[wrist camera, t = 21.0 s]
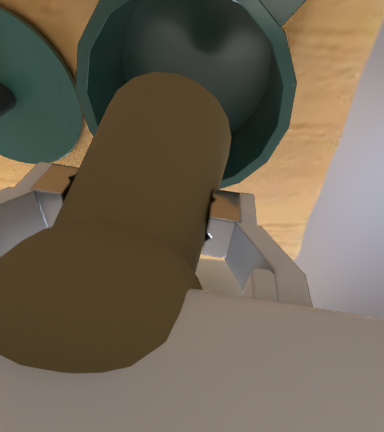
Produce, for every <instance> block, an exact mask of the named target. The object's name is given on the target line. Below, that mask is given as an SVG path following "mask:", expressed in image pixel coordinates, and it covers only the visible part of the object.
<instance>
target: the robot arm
mask: <svg viewBox="0 0 384 432" xmlns="http://www.w3.org/2000/svg"><path fill="white" fill-rule="evenodd" d="M78 170H79V168H77V167H71V166H65V165H60V164H54V163H47V162H38V163H37V164H36V165H35V166H34V167H33V168H32V169H31V170H30V171H29V172H28V174H27V175H26V176H25V177H24V178H23V179H22V180H21V181H20V182H19V183H18V184H17V185H16V186H15V187H7V188H5V189H2V190H0V257H1V256H3V255H4V254H5V253H7V252H8V251H9V250H10V249H12V248H13V247H14V246H16V245H17V244H18V243H20V242H21V241H22V240H24V239H26V238H28V237H30V236H32V235H34V234H35V233H37V232H39V231H41V230H43V229H46V228H50V227H52V226H53V224H54V222H55V220H56V217H57V215H58V213H59V211H60V209H61V207H62V204H63V202H64V200H65V198H66V196H67V194H68V191H69V189H70V187H71V185H72V183H73V181H74V178H75V176H76V174H77V172H78ZM202 254H203V255H209V256H214V257H220V258H225V261H226V262H227V264H228V266H229V268H230V269H231V271H232V273H233V275H234V276H235V278H236V280H237V281H238V284H239V285H240V287H241V289H242V291H243V292H242V295H241V296H237V295H230V294H224V293H218V292H212V291H206V290H199V289H193V288H191V289H190V290H188V292H187V293H186V297H185V300H184V303H183V306H182V309H181V312H180V314H179V316H178V318H177V320H176V322H175V324H174V326H173V328H172V330H171V332H170V334H169V337H168V339H167V341H166V342H165V343H164V344H162V345H161V346H160V347H158V348H157V349H155V350H154V351H152V352H151V353H150V354H148V355H147V356H145V357H144V358H142V359H141V360H139V361H138V362H137V363H135V364H134V365H132V366H131V367H126V368H122V369H117V370H112V371H108V372H103V373H63V372H56V371H50V370H45V369H39V368H33V367H28V366H23V365H19V364H17V363H15V362H13V361H11V360H9V359H7V358H5V357H3V356H1V355H0V432H384V319H382V318H376V317H370V316H363V315H357V314H351V313H344V312H338V311H332V310H325V309H319V308H313V306H312V301H311V297H310V292H309V288H308V284H307V279H306V275H305V274H304V273H303V272H302V270H301V269H300V268H299V267H298V266H297V265H296V264H295V263H294V262H293V261H292V259H291V258H290V257H289V256H288V255H287V254H286V253H285V252H284V251H283V250H282V248H281V247H280V246H279V245H278V244H277V243H276V242H275V241H274V240H273V239H272V237H271V236H270V235H269V234H268V233H267V232H266V231H265V230H264V229H263V228H262V227H261V226H258V225H257V220H256V209H255V198H254V195H253V194H248V193H240V192H239V193H236V192H230V191H223V190H216V189H212V194H211V205H210V209H209V217H208V223H207V230H206V236H205V240H204V244H203V249H202Z"/></svg>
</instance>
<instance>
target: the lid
mask: <svg viewBox="0 0 384 432" xmlns="http://www.w3.org/2000/svg"><path fill="white" fill-rule="evenodd" d="M82 128H83V110H82V107H81V104H80V101H79V98H78V95H77V92H76V83H75V81H74V79H73V77H72V75H71V73H70V71H69V69H68V68H67V66H66V64H65V63H64V61H63V59H62V58H61V57H60V55H59V54H58V53H57V51H56V50H55V49H54V48H53V46H52V45H51V44H50V43H49V42H48V41H47V40H46V39H45V38H44V37H43V36H42V35H41V34H40V33H39V32H38V31H37V30H36V29H35V28H34V27H33V26H31V25H30V24H29V23H27V22H26V21H25V20H23V19H22V18H21V17H19V16H17V15H16V14H14V13H13V12H11V11H9V10H8V9H6V8H3V7H1V6H0V155H2V156H4V157H7V158H10V159H12V160H16V161H20V162H25V163H32V164H37V163H38V162H47V163H50V162H54V161H56V160H59V159H61V158H63V157H64V156H66V155H67V154H68V153H69V152H70V151H71V150H72V149H73V148H74V147H75V145H76V144H77V142H78V140H79V138H80V135H81V132H82Z"/></svg>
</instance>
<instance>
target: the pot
mask: <svg viewBox="0 0 384 432" xmlns="http://www.w3.org/2000/svg"><path fill="white" fill-rule="evenodd" d="M305 1H306V0H100V1H99V2H98V4H97V6H96V8H95V10H94V12H93V14H92V16H91V18H90V20H89V22H88V24H87V26H86V28H85V30H84V32H83V34H82V36H81V38H80V40H79V42H78V49H77V73H76V92H77V95H78V98H79V101H80V104H81V107H82V110H83V113H84V116H85V119H86V122H87V125H88V128H89V131H90V132H91V133H92V135H93V136H94V135H95V133H96V131H97V129H98V126H99V124H100V122H101V120H102V118H103V116H104V113H105V111H106V109H107V107H108V105H109V103H110V102H111V100H112V98H113V97H114V95H115V93H116V92H117V90H118V89H119V88H121V87H122V86H123V85H125V84H126V83H127V82H129V81H130V80H131V79H133V78H134V77H137V76H141V75H145V74H148V73H152V72H165V73H176V74H180V75H183V76H185V77H187V78H189V79H191V80H194V81H196V82H198V83H200V84H201V85H202V86H204V87H205V88H206V89H207V90H208V91H209V92H210V93H211V94H212V95H213V96H215V97H216V98H217V99H218V101H219V103H220V105H221V106H222V108H223V110H224V112H225V114H226V115H227V117H228V121H229V126H230V132H231V137H232V138H231V144H230V150H229V156H228V160H227V163H226V167H225V170H224V174H223V177H222V181H221V184H220V188H219V189H221V188H224V187H228V186H231V185H234V184H237V183H240V182H241V181H242V180H244V179H245V178H246V177H248V176H249V175H250V174H252V173H253V172H254V171H256V170H257V169H258V168H260V167H261V166H262V165H264V164H265V163H266V162H267V161H268V160H269V158H270V157H271V155H272V154H273V152H274V150H275V149H276V147H277V146H278V144H279V142H280V141H281V139H282V138H283V136H284V135H285V133H286V131H287V130H288V128H289V124H290V119H291V113H292V108H293V102H294V96H295V91H296V85H297V84H296V83H297V81H296V76H295V72H294V68H293V63H292V59H291V55H290V50H289V46H288V42H287V37H286V34H285V32H284V30H283V29H282V27H281V26H282V25H283V24H284V23H285V22H286V21H287V20H288V19H289V18H290V17H291V16H292V15H293V14H294V13H295V12H296V11H297V10H298V8H299V7H300V6H301V5H302V4H303V3H304V2H305Z"/></svg>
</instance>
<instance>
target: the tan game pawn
mask: <svg viewBox="0 0 384 432" xmlns="http://www.w3.org/2000/svg"><path fill="white" fill-rule="evenodd" d="M231 138H232V137H231V132H230V126H229V121H228V117H227V115H226V114H225V112H224V110H223V108H222V106H221V105H220V103H219V101H218V99H217V98H216V97H215V96H213V95H212V94H211V93H210V92H209V91H208V90H207V89H206V88H205V87H204V86H202V85H201V84H200V83H198V82H196V81H194V80H191V79H189V78H187V77H185V76H183V75H180V74H176V73H165V72H152V73H148V74H145V75H141V76H137V77H134V78H133V79H131V80H130V81H129V82H127V83H126V84H125V85H123V86H122V87H121V88H119V89H118V90H117V92H116V93H115V95H114V97H113V98H112V100H111V102H110V103H109V105H108V107H107V109H106V111H105V113H104V116H103V118H102V120H101V122H100V124H99V126H98V129H97V131H96V133H95V135H94V137H93V139H92V142H91V144H90V146H89V148H88V150H87V152H86V155H85V157H84V159H83V161H82V163H81V165H80V168H79V170H78V172H77V174H76V176H75V178H74V181H73V183H72V185H71V187H70V189H69V191H68V194H67V196H66V198H65V200H64V202H63V204H62V207H61V209H60V211H59V213H58V215H57V217H56V220H55V222H54V224H53V226H52V227H50V228H46V229H43V230H41V231H39V232H37V233H35V234H34V235H32V236H30V237H28V238H26V239H24V240H22V241H21V242H20V243H18V244H17V245H16V246H14V247H13V248H12V249H10V250H9V251H8V252H7V253H5V254H4V255H3V256H1V257H0V355H1V356H3V357H5V358H7V359H9V360H11V361H13V362H15V363H17V364H19V365H23V366H28V367H33V368H39V369H45V370H50V371H56V372H63V373H103V372H108V371H112V370H117V369H122V368H126V367H131V366H132V365H134V364H135V363H137V362H138V361H139V360H141V359H142V358H144V357H145V356H147V355H148V354H150V353H151V352H152V351H154V350H155V349H157V348H158V347H160V346H161V345H162V344H164V343H165V342H166V341H167V339H168V337H169V334H170V332H171V330H172V328H173V326H174V324H175V322H176V320H177V318H178V316H179V314H180V312H181V309H182V306H183V303H184V300H185V297H186V293H187V292H188V290H190V289H191V288H193V289H199V290H203V289H202V287H201V284H200V282H199V280H198V278H197V276H196V275H195V271H196V268H197V264H198V261H199V258H200V254H201V251H202V247H203V244H204V240H205V236H206V230H207V223H208V217H209V209H210V205H211V194H212V189H216V190H219V188H220V184H221V181H222V177H223V174H224V170H225V167H226V163H227V160H228V156H229V150H230V144H231Z"/></svg>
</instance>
